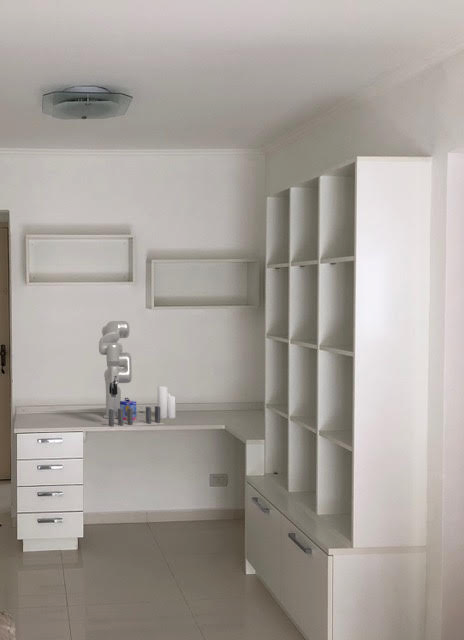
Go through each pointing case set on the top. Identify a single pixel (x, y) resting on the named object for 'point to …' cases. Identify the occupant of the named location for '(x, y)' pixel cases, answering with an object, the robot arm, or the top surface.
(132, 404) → the ink cartridge box
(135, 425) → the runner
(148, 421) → the domino
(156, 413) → the domino
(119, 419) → the domino
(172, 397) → the white tube cluster
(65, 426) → the top surface
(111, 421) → the domino
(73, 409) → the top surface
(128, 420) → the domino
